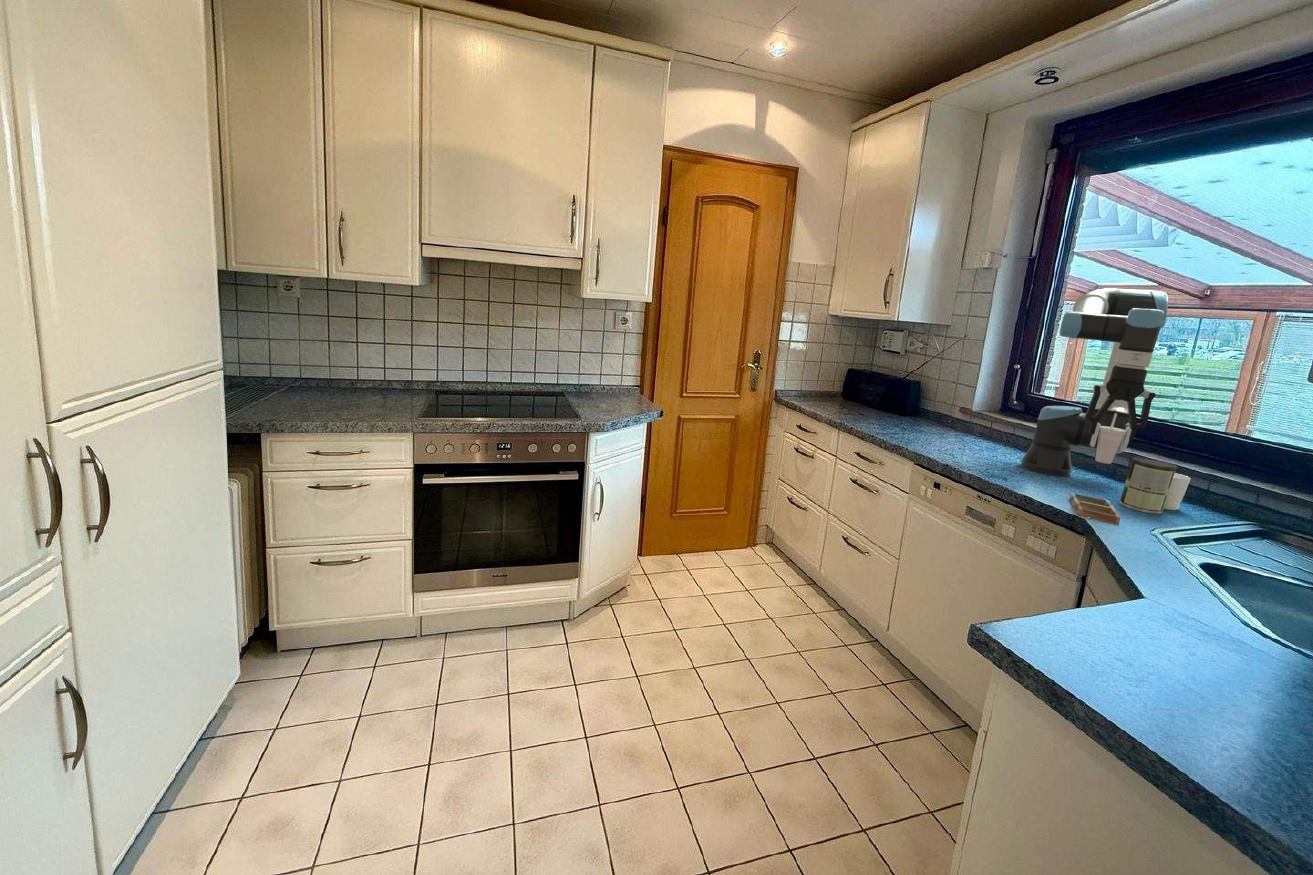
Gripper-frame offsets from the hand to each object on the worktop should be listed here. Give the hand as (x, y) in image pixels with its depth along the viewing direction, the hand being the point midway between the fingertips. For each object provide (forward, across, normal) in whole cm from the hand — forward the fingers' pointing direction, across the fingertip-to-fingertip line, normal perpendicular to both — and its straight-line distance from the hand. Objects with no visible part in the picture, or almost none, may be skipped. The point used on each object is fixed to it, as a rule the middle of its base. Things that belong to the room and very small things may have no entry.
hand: (1107, 448), depth 164 cm
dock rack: (+18, 0, -5) cm, 18 cm away
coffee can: (+18, +14, +12) cm, 26 cm away
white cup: (+18, +21, +20) cm, 34 cm away
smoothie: (+4, 0, 0) cm, 4 cm away
